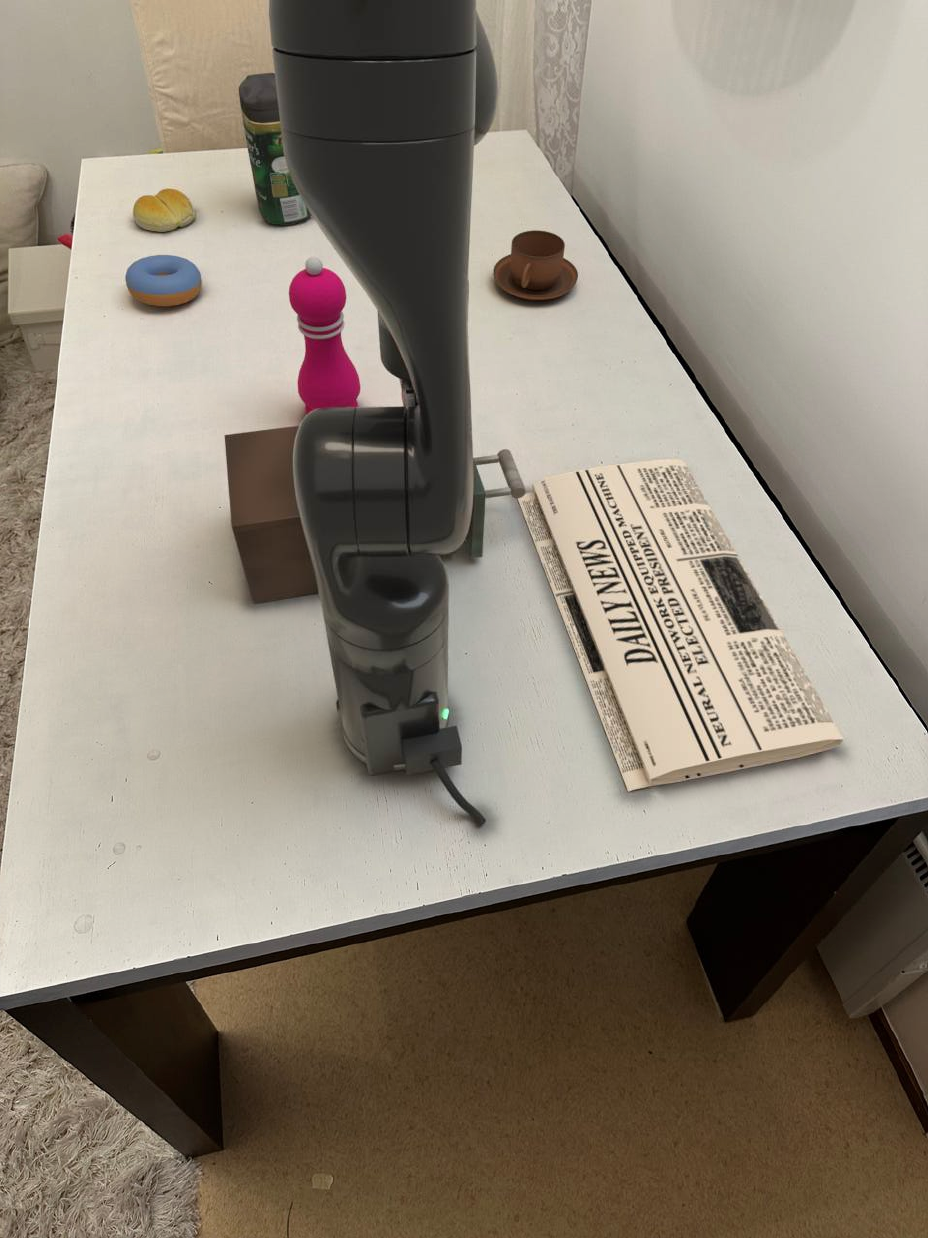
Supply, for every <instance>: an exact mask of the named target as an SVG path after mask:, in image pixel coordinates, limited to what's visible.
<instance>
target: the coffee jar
mask: <svg viewBox="0 0 928 1238" xmlns="http://www.w3.org/2000/svg"><path fill="white" fill-rule="evenodd" d="M238 97H239V106H240V112H241V118H242V124H243V129H244V136H245V141H246V147H247V153H248V159H249V165H250V169H251V173H252V179H253V184H254V185H253V186H254V191H255V192H254V193H255V197H256V201H257V206H258V210H259V212H260V215H261V216H262V217H263V219H264V220H265V221H266V222H267V223H269V224H272V225H283V226H290V225H295V224H298V223H300V222H303V221H304V220H307V219H308V218H310V216H311V213H310V212H309V210H308V209H307V207H306V205H305V203H304V202H303V200H302V198H301V197H300V195H299V193H298V191H297V189H296V187H295V185H294V183H293V180H292V178H291V176H290V173H289V171H288V168H287V164H286V160H285V156H284V151H283V144H282V136H281V124H280V117H279V108H278V99H277V90H276V80H275V72H263V73H256V74H249V75H247V76H246V77H245V78H244V79H243V80H242V81H241V83H240V84H239V86H238Z"/></svg>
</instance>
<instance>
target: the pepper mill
mask: <svg viewBox="0 0 928 1238" xmlns="http://www.w3.org/2000/svg"><path fill="white" fill-rule="evenodd" d="M304 267H305V268H304V269H302V270H300V271H299V272H298V273H296V274H295V275H294V276H293V278H292V279H291V282H290V284H289V288H288V298H289V299H288V300H289V304H290V307H291V308H292V310H293V311H294V312H295V314H297V316H296V321H297V329H298V330H299V332H300V333H301V334H302V335H303V338H304V349H305V350H304V351H305V352H304V358H303V361H302V363H301V365H300V368H299V371H298V377H297V393H298V396H299V398H300V400H301V401H302V403H303V404H304V411H305V416H306V415H307V414H308V413H310V412H311V411H313V410H315V409H318V408H325V407H359V402H358V400H357V399H358V398H359V395H360V394H361V382H360V376H359V373H358V371H357V369H356V367H355V364H354V363H353V362H352V360H351V358H350V356H349V355H348V352H347V351H346V349H345V347H344V343H343V337H342V331H343V330H344V329H345V320H344V318H345V317H344V316H345V315H344V312H343V310H344V309H345V306H346V302H347V291H346V287H345V285H344V282H343V279H341V278H340V276H339V275H338V274H337V273H336V272H335V271H333V270H331V269H329V268H326V267H324V265H323V262H322V260H321V259H320V258H319V257H317V256H310V257H308V258H307V259H306V260H305V263H304Z"/></svg>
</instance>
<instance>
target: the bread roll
mask: <svg viewBox="0 0 928 1238" xmlns="http://www.w3.org/2000/svg"><path fill="white" fill-rule="evenodd" d="M132 208H133V209H132V216H133V220H134V222H135V223H136V224H137V226H138V227H140V228H141V229H143V230H147V231H152V232H159V233H165V232H171V231H175V229H177V228H178V227H180V228H182V227H186V226H188V225H189V224H191V223H192V222H193V221H194V220H195V218H196V214H197V212H196V211H195V210H194V207H193V204H192V201H191V200H190V198H189V197H188V196H187V195H186V194H185V193H183V192H182V191H181V190H178V189H175V188H163V189H161V190H159V191H158V192H157V193H156V194H155V195H153V194H152V195H151V194H150V195H149V194H145V195H141V196H140V197H138V199H137V200H136V201H135V203H134V204H133V207H132Z"/></svg>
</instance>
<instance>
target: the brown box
mask: <svg viewBox="0 0 928 1238" xmlns="http://www.w3.org/2000/svg"><path fill="white" fill-rule="evenodd" d="M299 426H300V425H293V426H285V427H276V428H269V429H262V430H261V429H260V430H254V431H246V432H237V433H229V434H224V447H225V460H226V461H225V462H226V471H227V472H226V473H227V487H228V499H229V510H230V511H229V512H230V523H231V524H230V525H231V526H230V527H231V529H232V532H233V537H234V540H235V541H234V542H235V544H236V547H237V551H238V556H239V559H240V562H241V567H242V569H243V573H244V577H245V580H246V583H247V584H246V585H247V587H248V590H249V595H250V598H251V601H252V604H260V603H265V602H271V601H278V600H283V599H289V598H296V597H297V598H298V597H303V596H307V595H308V596H309V595H316V594H319V593H318V588H317V583H316V578H315V573H314V569H313V565H312V561H311V557H310V553H309V550H308V546H307V542H306V539H305V535H304V532H303V528H302V524H301V520H300V515H299V511H298V506H297V502H296V496H295V487H294V477H293V449H294V442H295V437H296V434H297V431H298V428H299Z"/></svg>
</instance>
